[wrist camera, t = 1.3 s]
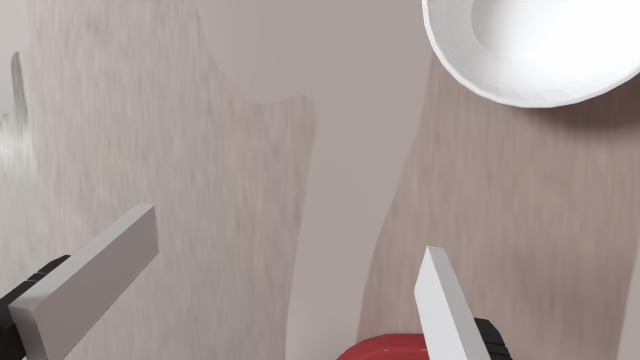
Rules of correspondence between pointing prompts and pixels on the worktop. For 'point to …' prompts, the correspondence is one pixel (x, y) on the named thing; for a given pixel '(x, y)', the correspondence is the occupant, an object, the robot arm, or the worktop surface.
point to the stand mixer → (389, 348)
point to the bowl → (536, 47)
